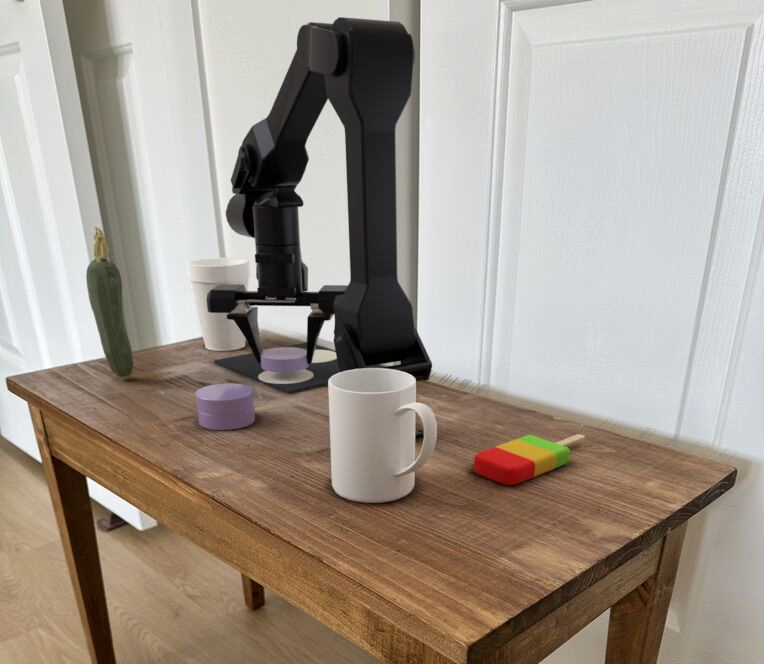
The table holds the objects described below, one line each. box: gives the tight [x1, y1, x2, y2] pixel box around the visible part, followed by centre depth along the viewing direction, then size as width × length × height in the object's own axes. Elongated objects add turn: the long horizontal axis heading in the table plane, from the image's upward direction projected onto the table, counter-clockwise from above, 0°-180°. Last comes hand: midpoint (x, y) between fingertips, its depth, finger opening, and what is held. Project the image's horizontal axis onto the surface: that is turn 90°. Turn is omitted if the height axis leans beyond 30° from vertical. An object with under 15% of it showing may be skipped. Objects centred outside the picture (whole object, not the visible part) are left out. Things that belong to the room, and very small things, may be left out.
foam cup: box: [185, 257, 251, 352], centre depth 119 cm, size 10×9×13 cm
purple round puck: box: [260, 346, 309, 372], centre depth 104 cm, size 7×7×2 cm
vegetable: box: [85, 226, 134, 381], centre depth 100 cm, size 4×4×20 cm
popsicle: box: [473, 433, 586, 486], centre depth 78 cm, size 6×15×2 cm, turn 131°
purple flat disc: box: [196, 405, 256, 431], centre depth 89 cm, size 7×7×2 cm
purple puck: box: [194, 382, 255, 415], centre depth 89 cm, size 7×7×2 cm
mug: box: [327, 368, 438, 504], centre depth 69 cm, size 12×8×10 cm, turn 38°
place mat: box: [213, 341, 386, 394], centre depth 111 cm, size 20×17×1 cm
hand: (285, 362), depth 104 cm, fingers closed on purple round puck, 6 cm apart
